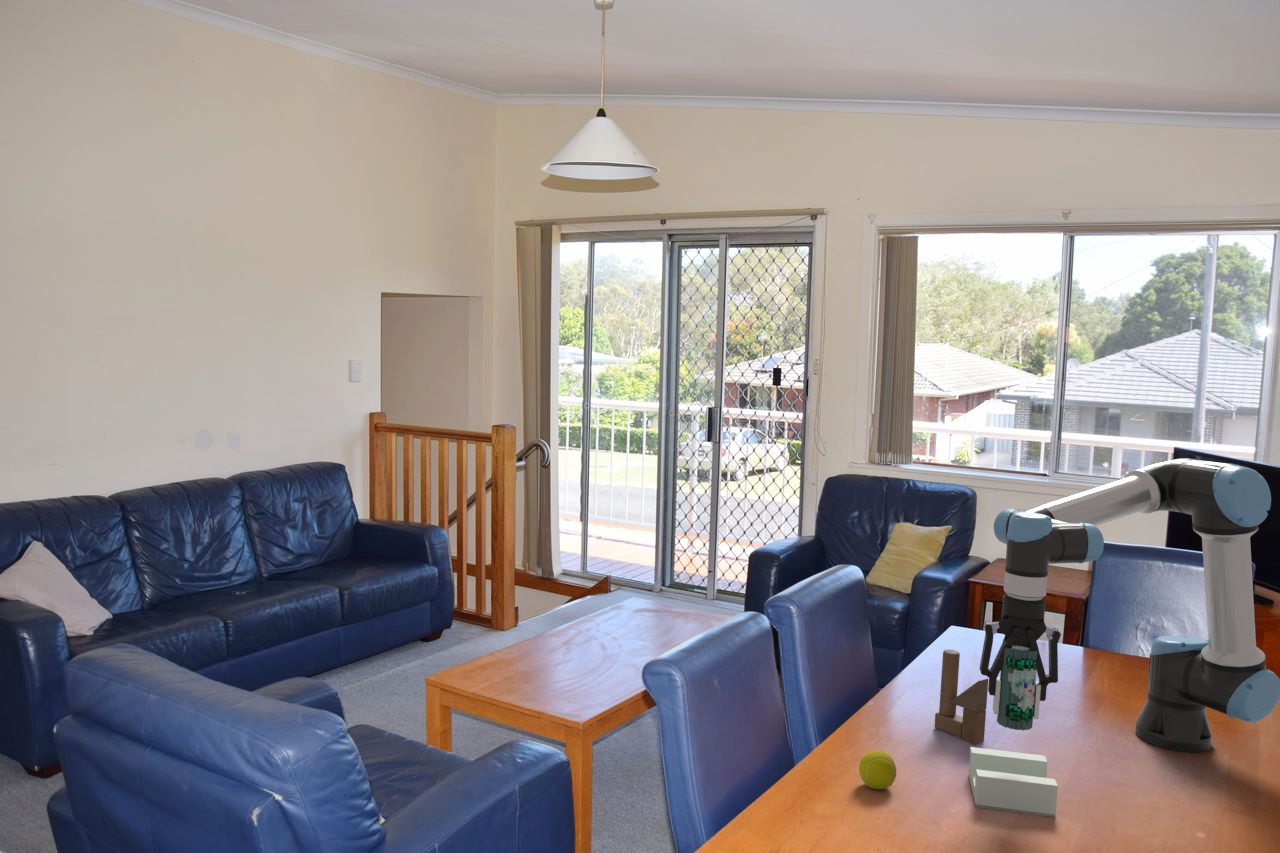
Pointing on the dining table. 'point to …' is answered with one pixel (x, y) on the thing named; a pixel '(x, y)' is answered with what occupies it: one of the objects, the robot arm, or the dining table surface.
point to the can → (1017, 687)
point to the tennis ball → (877, 770)
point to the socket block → (1012, 782)
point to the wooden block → (961, 703)
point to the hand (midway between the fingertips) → (1015, 713)
